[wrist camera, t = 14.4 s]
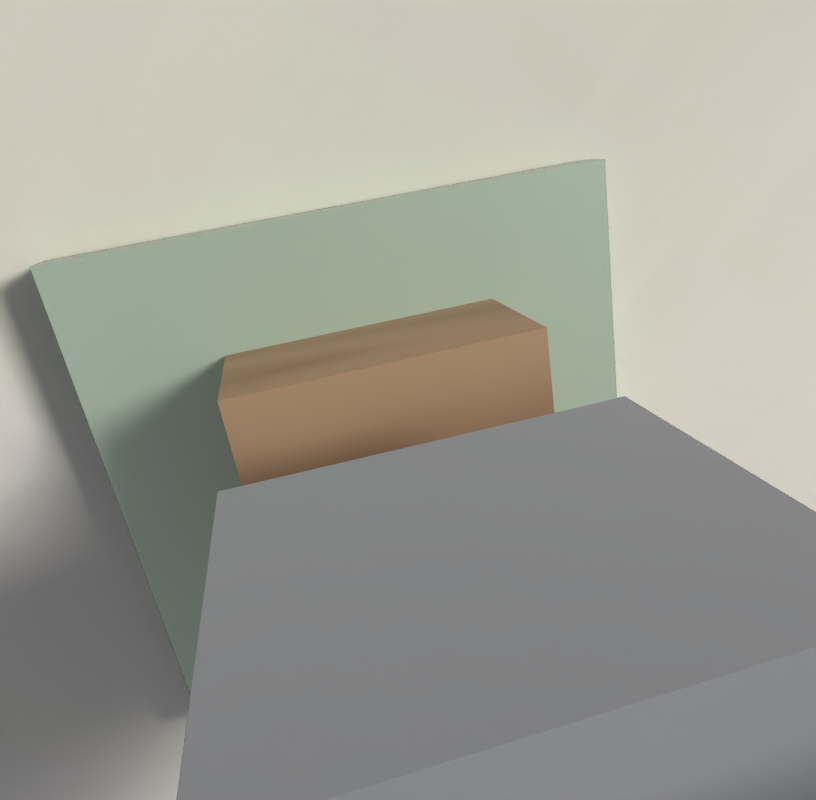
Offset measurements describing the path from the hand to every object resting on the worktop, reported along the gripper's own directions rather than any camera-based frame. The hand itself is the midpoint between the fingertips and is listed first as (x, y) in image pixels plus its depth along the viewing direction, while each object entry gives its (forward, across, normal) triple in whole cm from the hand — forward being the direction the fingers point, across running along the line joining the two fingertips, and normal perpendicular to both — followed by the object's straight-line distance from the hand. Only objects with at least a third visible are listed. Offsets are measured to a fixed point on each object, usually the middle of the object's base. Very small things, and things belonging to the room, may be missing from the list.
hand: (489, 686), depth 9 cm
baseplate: (+8, 0, 0) cm, 8 cm away
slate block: (+2, 0, 0) cm, 2 cm away
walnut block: (+7, 0, 0) cm, 7 cm away
